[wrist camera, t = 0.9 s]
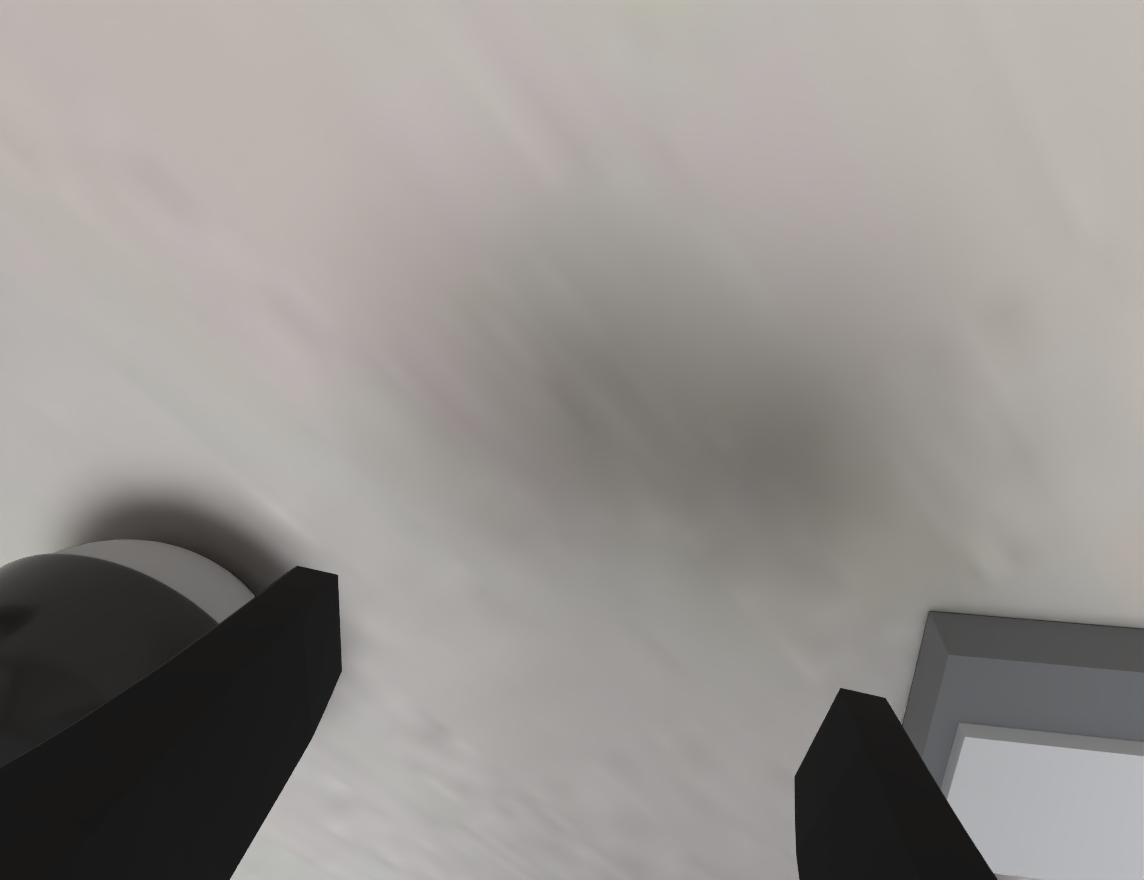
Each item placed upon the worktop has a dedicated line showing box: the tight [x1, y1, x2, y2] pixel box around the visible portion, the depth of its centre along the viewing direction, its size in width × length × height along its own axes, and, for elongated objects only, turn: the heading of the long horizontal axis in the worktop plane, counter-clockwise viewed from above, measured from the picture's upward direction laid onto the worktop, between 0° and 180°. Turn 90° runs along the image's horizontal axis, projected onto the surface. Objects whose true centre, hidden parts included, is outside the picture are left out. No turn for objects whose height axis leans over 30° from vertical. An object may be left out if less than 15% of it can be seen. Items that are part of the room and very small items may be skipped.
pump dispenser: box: [0, 539, 255, 767], centre depth 19 cm, size 10×10×15 cm
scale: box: [902, 612, 1144, 880], centre depth 20 cm, size 8×12×2 cm, turn 91°
